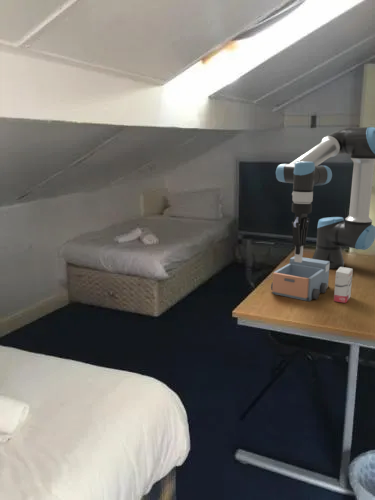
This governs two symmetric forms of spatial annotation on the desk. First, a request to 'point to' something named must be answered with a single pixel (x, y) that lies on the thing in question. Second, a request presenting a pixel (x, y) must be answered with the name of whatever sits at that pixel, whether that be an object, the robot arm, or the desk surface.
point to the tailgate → (290, 285)
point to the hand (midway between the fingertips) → (298, 261)
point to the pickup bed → (308, 276)
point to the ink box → (343, 284)
